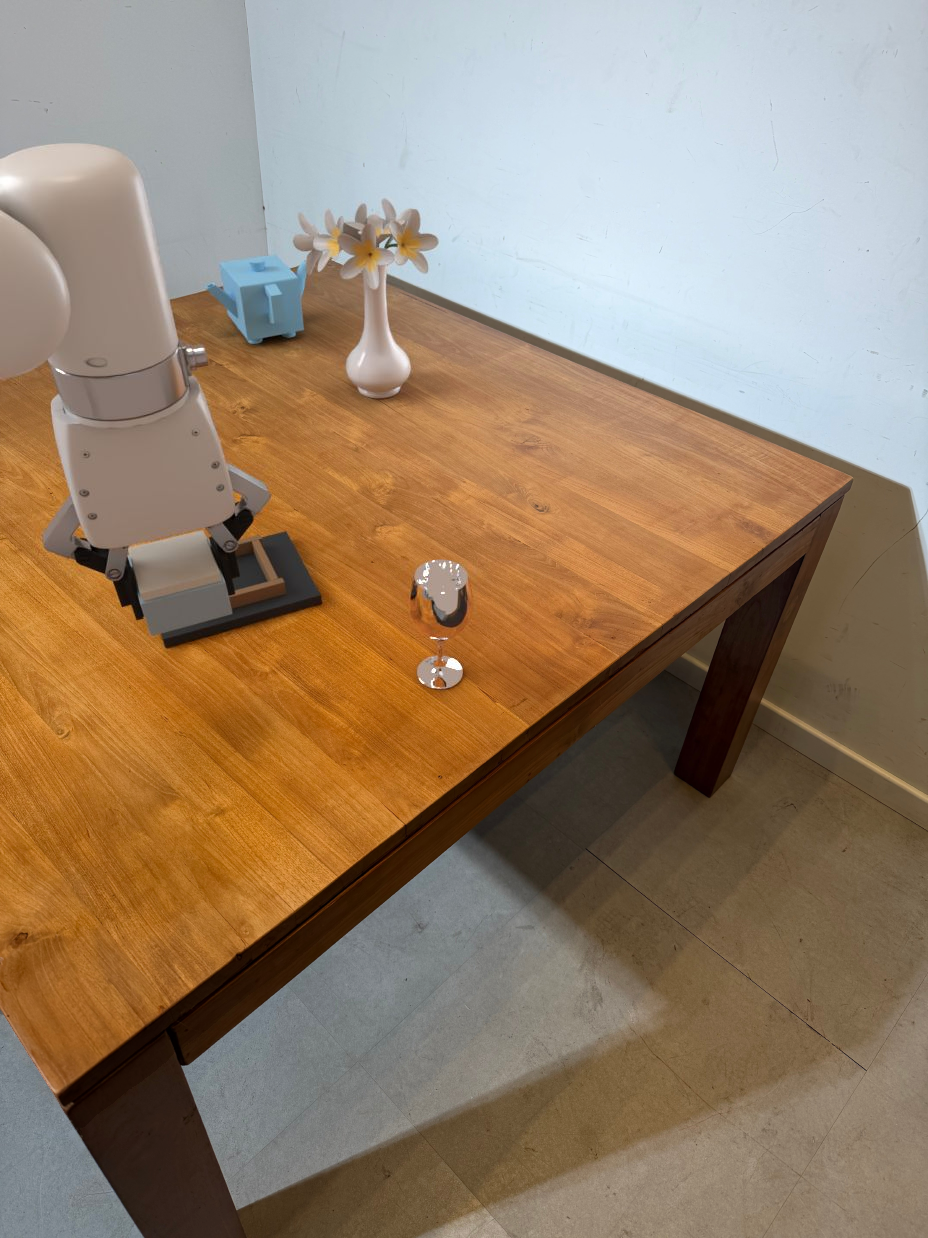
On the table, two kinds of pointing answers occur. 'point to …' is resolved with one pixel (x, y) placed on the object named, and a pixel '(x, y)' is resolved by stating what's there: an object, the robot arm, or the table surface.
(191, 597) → the upper pad
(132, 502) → the robot arm
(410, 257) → the flower vase
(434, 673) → the wineglass
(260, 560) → the base pad
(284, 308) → the teapot
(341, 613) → the table surface
